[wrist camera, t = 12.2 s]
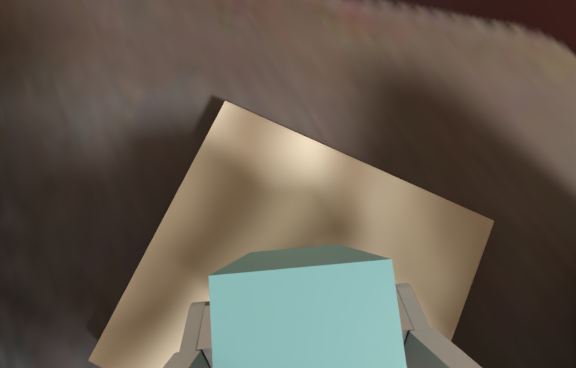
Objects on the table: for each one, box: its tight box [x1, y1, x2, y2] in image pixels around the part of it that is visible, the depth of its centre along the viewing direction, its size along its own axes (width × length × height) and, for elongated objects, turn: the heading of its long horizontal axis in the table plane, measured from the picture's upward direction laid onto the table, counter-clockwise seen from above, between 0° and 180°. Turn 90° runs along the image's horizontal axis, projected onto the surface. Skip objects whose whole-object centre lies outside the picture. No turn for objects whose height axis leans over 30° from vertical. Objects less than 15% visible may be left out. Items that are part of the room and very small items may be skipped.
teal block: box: [209, 244, 407, 368], centre depth 11 cm, size 4×4×8 cm
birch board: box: [88, 101, 494, 368], centre depth 17 cm, size 17×16×2 cm
